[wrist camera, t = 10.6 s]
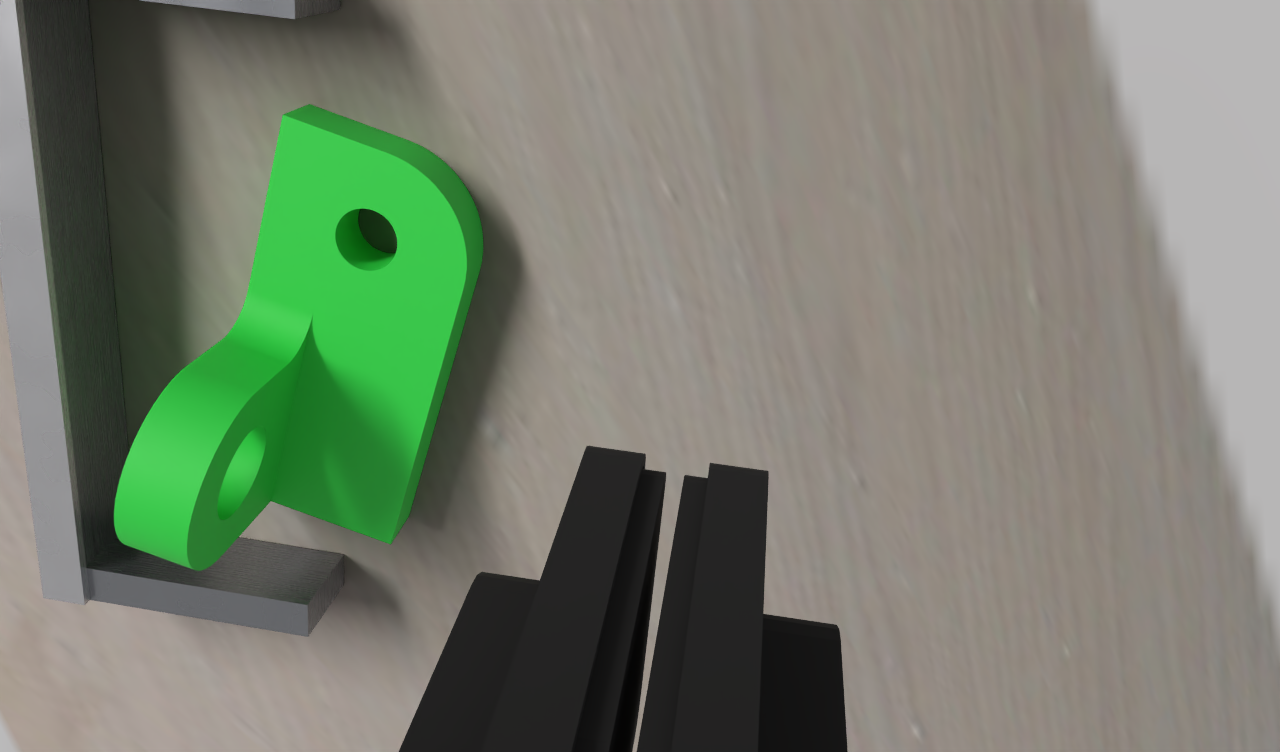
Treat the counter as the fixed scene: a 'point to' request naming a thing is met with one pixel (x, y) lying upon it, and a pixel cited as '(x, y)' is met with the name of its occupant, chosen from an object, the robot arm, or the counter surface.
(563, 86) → the counter surface
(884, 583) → the counter surface
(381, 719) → the counter surface
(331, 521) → the mechanical part
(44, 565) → the steel bracket
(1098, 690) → the counter surface
